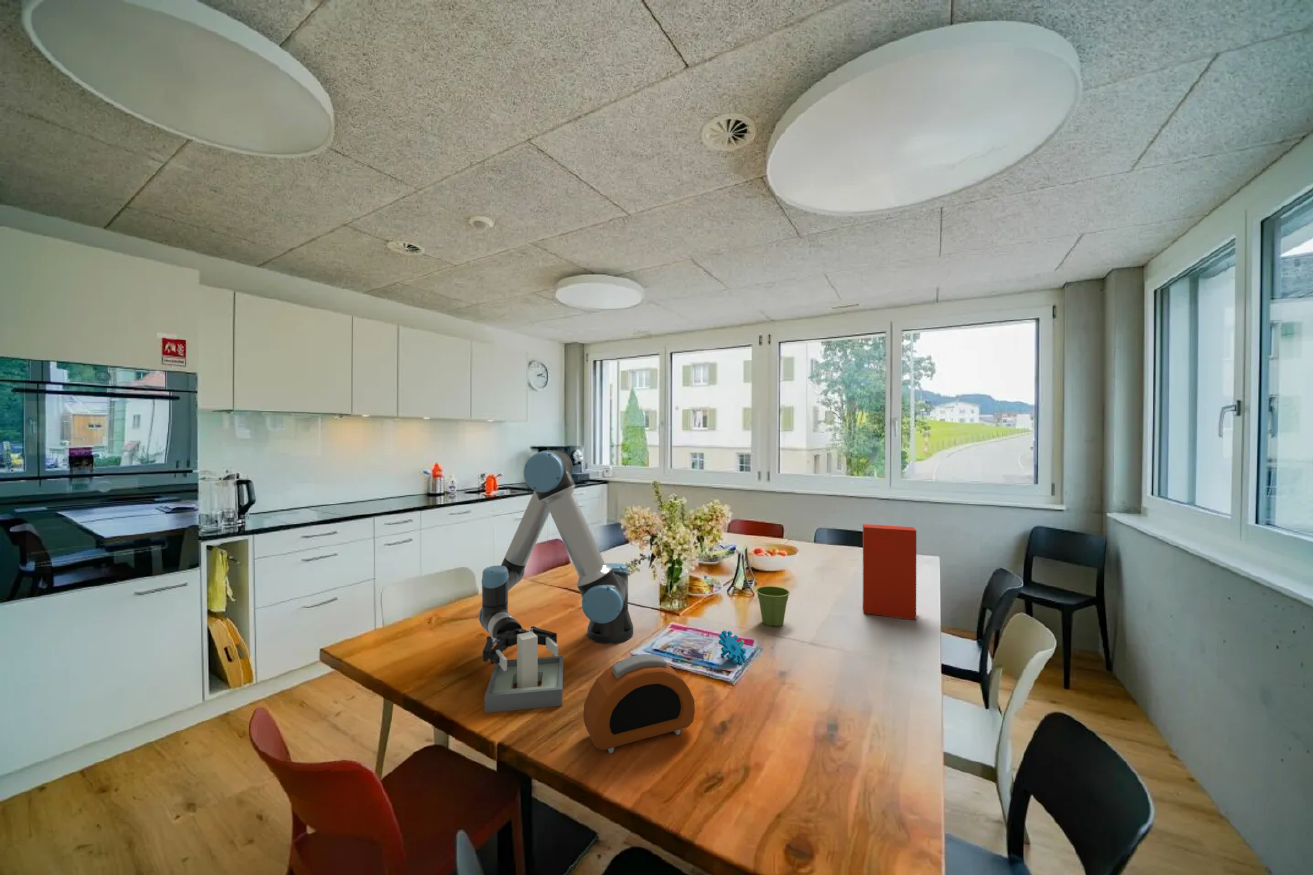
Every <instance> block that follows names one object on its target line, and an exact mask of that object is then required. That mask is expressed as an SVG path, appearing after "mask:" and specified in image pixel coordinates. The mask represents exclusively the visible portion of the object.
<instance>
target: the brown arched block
mask: <svg viewBox="0 0 1313 875" xmlns="http://www.w3.org/2000/svg"><path fill="white" fill-rule="evenodd" d="M695 705H696V704H695V699H694V695H693V694H692V692H691V689H690V688H689V686H688V684H687V683H686V681H685V680H684V679H683V678H682V677H681V676H680V675H679V673H677V672H676V670H674V668H673V667H671V665H670V664H668V663H667V661H666V660H665V659H664V658H663V657H662V656H661V655H657V654H650V653H649V654H647V653H646V654H645V653H644V654H636V655H633V656H628V657H626V658H624V659H621V660H618V661H616V662H615V663H613V664H612V665H611V666H609V667H608V668H606V669H605V670H604V671H603V672H602V673H601V674H600V675H599V676H598V677H596V679H595V681H594V683H593V684H592V686H590V688H589V692H588V693H587V697H586V698H585V701H584V703H583V715H582V716H583V721H584V726H585V729H586V731H587V733H588V734H589V738H590V740H591V741H592V743H593V746H594V747H595V748H596V749H598V750H600V751H606V750H607V751H608V753H609V754H612V753H614V751H615V747H616V748H617V747H620V746H624V745H627V744H632V743H636V742H638V741H639V742H640V741H642V740H646V739H649V738H654V737H658V736H660V735H661V736H662V735H664V734H668V733H672V732H674V733H675V735H676V736H677V735H680V734H681V730H683V729H687V728H689V727H690V726H691V725H692V724H693V722H694V719H695V713H696V710H695V708H696V707H695Z"/></svg>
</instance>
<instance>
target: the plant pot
mask: <svg viewBox="0 0 1313 875" xmlns="http://www.w3.org/2000/svg"><path fill="white" fill-rule="evenodd" d="M755 592H756V594H757V598H758V602H759V608H760V615H761V621H762V623H763V624H764V625H766V626H768V627H769V626H770V627H772V626H774V627H781V626H783V625H784V623H785V617H786V616H785V615H786V610H787V604H788V603H787V602H788V599H789V595H790V594H791V591H790V590H789V589H787V588H785V587H781V586H775V585H774V586H773V585H766V586H765V585H764V586H759V587H757V588H755Z"/></svg>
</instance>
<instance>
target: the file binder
mask: <svg viewBox="0 0 1313 875" xmlns="http://www.w3.org/2000/svg"><path fill="white" fill-rule="evenodd" d="M862 611H863V612H862V613H863V614H867V615H872V616H873V615H874V616H883V617H890V618H898V619H905V620H906V619H907V620H914V621H916V620H917V529H916V528H915V527H914V526H899V525H881V524H865V523H863V524H862Z"/></svg>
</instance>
